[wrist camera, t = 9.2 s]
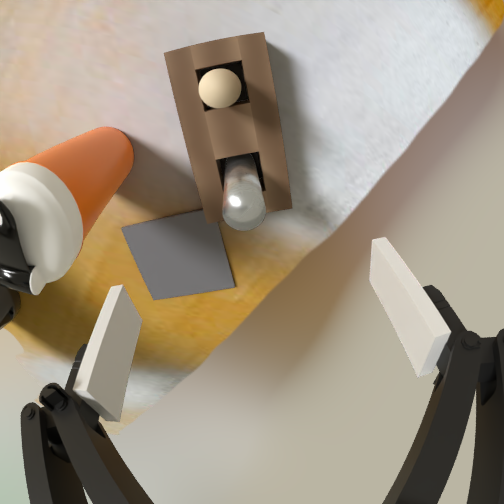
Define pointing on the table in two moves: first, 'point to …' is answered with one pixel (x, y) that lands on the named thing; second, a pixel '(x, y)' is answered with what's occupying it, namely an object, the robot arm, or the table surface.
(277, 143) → the hole block
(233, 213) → the peg
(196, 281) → the mat
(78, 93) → the table surface
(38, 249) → the shaker bottle
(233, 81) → the dowel
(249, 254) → the table surface
